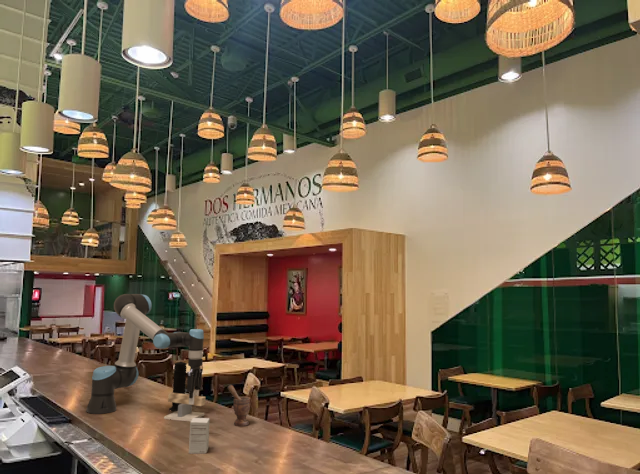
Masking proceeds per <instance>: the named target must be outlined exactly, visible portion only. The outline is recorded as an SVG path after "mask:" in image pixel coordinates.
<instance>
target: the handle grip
mask: <svg viewBox="0 0 640 474" xmlns="http://www.w3.org/2000/svg"><path fill="white" fill-rule="evenodd" d="M187 366H188V362H183V361H177V362H174V367H173V371H174V372H173V382H172V383H173V385H172V387H173V388H172V393H180V394H186V387H187V384H186V383H187V381H186V380H187V368H188V367H187ZM180 404H182V403H175V402H171V405H172V406H171V407H169V409H168V411H170V410H171V412H176V411H178V405H180Z"/></svg>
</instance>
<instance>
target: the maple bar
mask: <svg viewBox="0 0 640 474" xmlns="http://www.w3.org/2000/svg"><path fill="white" fill-rule="evenodd" d="M167 402H170V403H172V402H175V403H182V404H189V394H186V393H185V394H180V393H173V392H170V393H168V396H167ZM189 405H192V406H197V407H202V406H204V405H206V396H203V395H201V396H200V395H199V396H195V397H194V405H193V404H189Z"/></svg>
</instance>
